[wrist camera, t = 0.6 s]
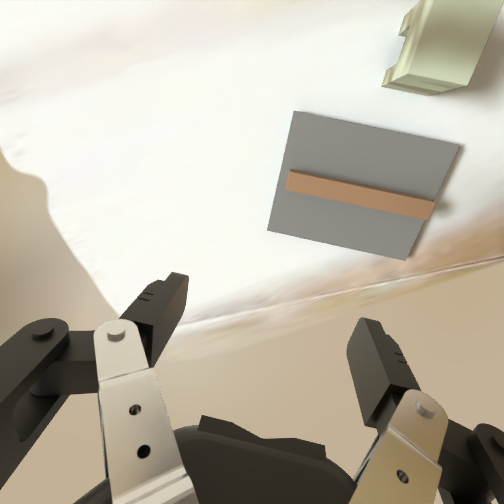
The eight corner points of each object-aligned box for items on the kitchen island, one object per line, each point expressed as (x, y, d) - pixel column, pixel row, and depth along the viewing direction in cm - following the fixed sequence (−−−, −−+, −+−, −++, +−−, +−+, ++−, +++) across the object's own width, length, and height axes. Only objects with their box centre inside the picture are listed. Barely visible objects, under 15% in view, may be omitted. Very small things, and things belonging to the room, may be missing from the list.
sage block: (408, 3, 27) (447, -38, 20) (460, 13, 26) (515, -25, 20) (381, 86, 29) (407, 73, 23) (427, 95, 29) (467, 85, 23)
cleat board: (293, 111, 31) (294, 108, 28) (452, 144, 31) (474, 145, 27) (267, 226, 37) (265, 237, 33) (401, 256, 36) (413, 269, 33)
